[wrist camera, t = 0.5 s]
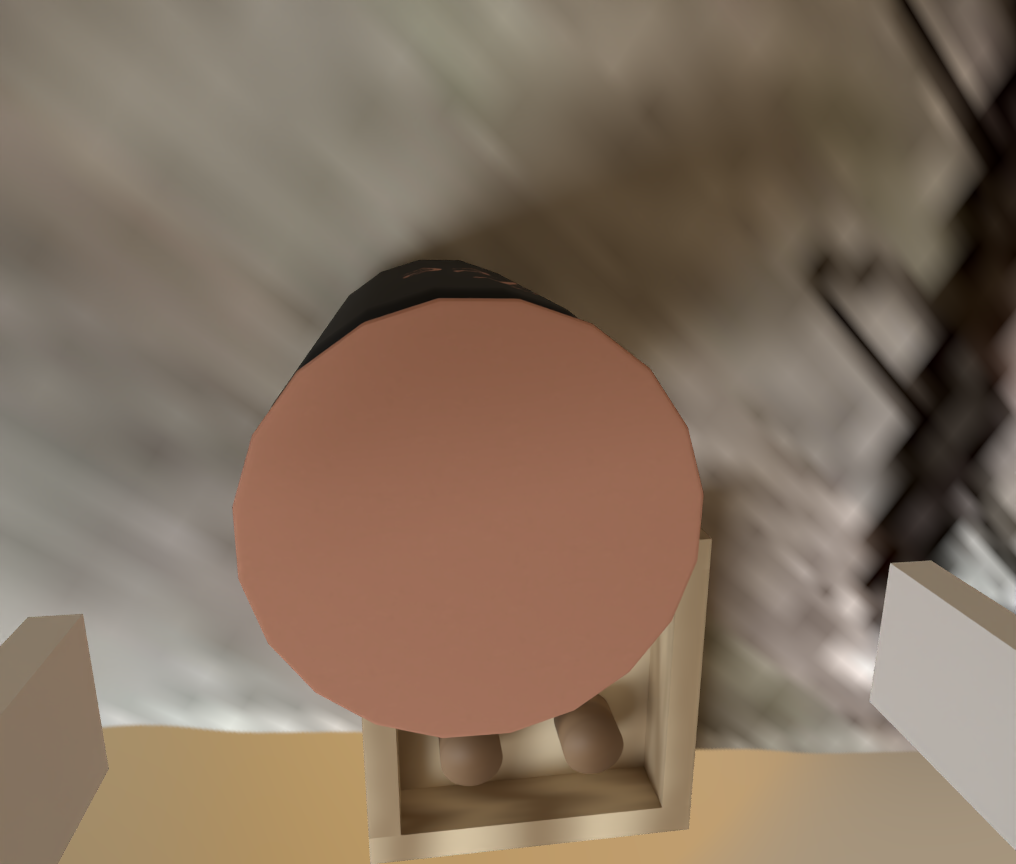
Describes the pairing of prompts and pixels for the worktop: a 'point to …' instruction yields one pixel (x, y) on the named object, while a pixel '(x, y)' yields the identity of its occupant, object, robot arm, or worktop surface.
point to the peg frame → (552, 762)
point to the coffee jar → (465, 507)
